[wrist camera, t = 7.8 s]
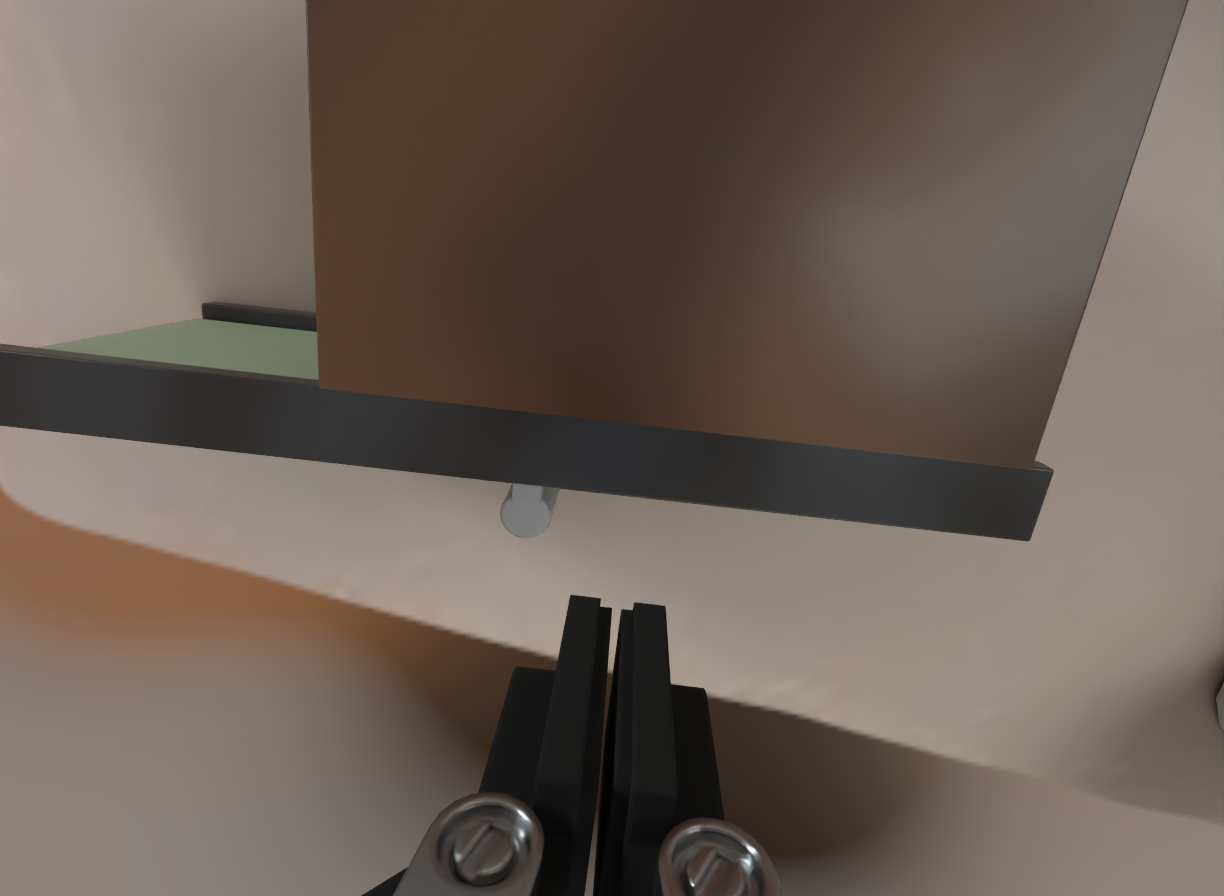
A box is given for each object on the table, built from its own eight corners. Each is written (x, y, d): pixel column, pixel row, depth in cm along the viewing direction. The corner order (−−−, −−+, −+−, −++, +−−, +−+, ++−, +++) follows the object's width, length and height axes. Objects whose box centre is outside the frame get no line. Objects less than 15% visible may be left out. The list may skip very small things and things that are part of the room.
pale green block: (615, 365, 23) (607, 430, 15) (604, 467, 24) (591, 576, 16) (197, 317, 23) (-29, 358, 15) (206, 422, 24) (2, 510, 16)
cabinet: (959, 78, 21) (1239, -59, 11) (874, 424, 24) (1030, 542, 15) (188, -13, 20) (-195, -231, 11) (218, 349, 24) (-51, 420, 15)
